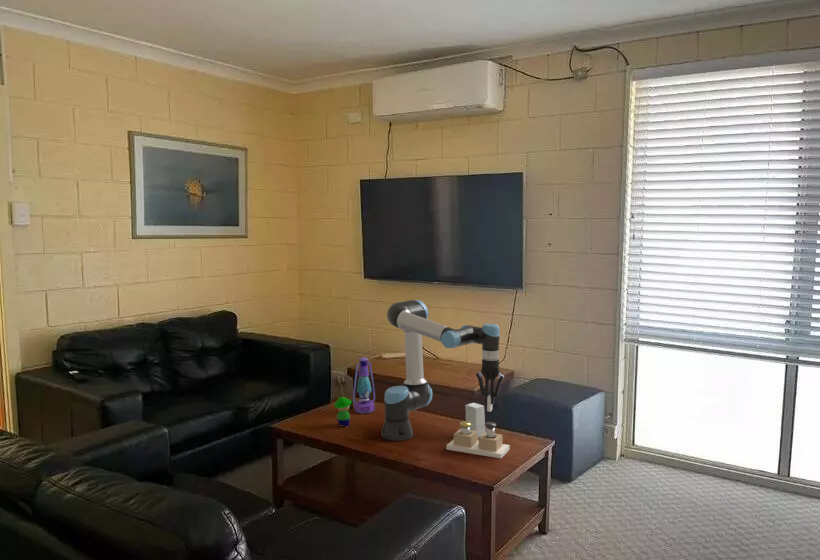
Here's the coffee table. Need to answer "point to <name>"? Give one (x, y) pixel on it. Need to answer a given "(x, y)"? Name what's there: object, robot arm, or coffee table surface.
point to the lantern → (364, 388)
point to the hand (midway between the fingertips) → (489, 410)
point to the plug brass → (465, 427)
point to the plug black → (490, 429)
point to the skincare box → (476, 417)
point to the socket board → (478, 444)
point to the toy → (343, 410)
